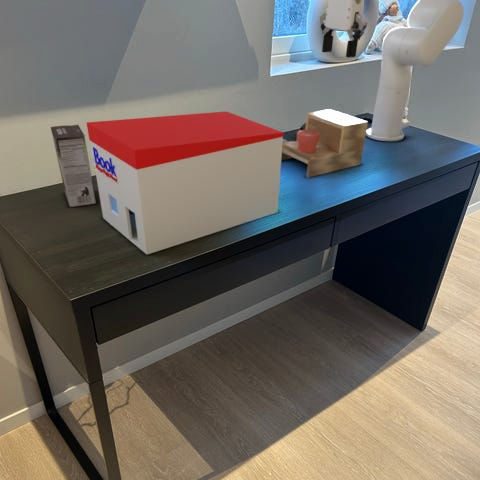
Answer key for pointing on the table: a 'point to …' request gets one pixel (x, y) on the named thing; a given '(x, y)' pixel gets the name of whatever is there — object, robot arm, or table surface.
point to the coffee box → (74, 164)
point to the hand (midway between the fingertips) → (338, 54)
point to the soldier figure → (284, 140)
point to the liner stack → (307, 140)
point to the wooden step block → (331, 142)
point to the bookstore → (184, 175)
